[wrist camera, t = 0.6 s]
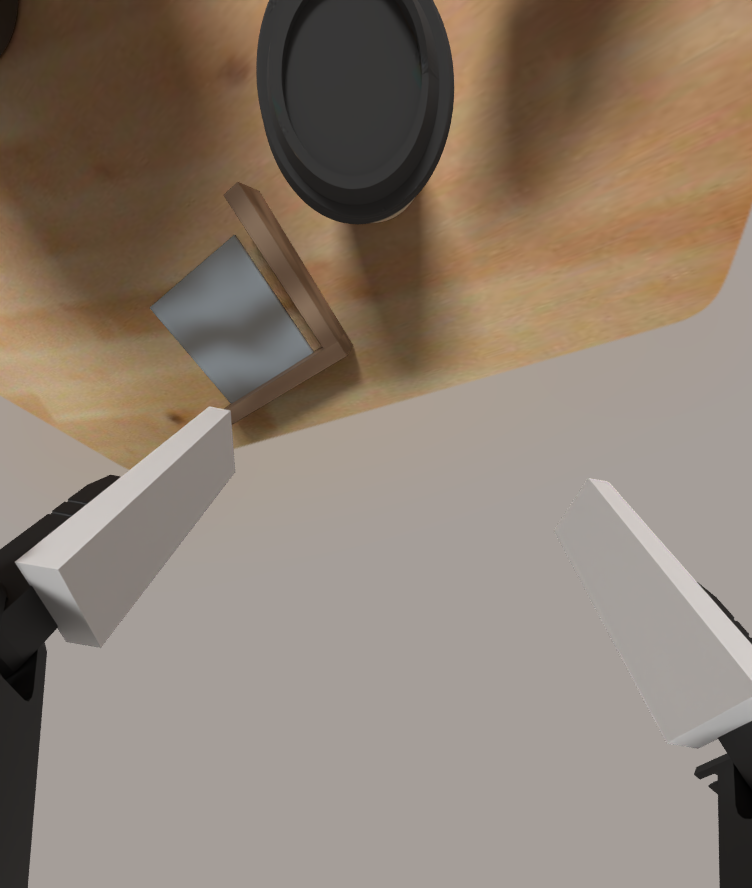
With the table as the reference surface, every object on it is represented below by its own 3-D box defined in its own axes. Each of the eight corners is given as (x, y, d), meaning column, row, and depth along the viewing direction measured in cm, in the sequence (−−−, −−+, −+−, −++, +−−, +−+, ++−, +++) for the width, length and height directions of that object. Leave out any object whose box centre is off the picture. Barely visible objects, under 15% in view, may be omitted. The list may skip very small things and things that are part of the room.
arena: (137, 299, 32) (105, 305, 29) (259, 191, 27) (237, 181, 24) (236, 415, 38) (219, 431, 35) (353, 345, 33) (346, 356, 30)
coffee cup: (368, 260, 29) (338, 264, 16) (298, 158, 26) (190, 62, 13) (456, 179, 26) (505, 102, 13) (387, 51, 22) (360, -224, 10)
